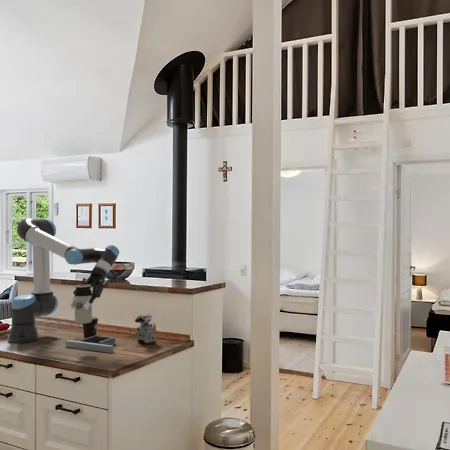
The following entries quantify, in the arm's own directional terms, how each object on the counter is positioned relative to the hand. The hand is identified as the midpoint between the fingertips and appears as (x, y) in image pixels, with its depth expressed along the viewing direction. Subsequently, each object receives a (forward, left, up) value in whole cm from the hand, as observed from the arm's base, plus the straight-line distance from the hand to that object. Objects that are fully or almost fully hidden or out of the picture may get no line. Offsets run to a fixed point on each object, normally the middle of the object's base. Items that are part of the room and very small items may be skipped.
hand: (78, 307), depth 240 cm
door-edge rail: (+1, +7, -21) cm, 22 cm away
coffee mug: (-18, +32, -22) cm, 43 cm away
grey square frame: (0, +14, -21) cm, 26 cm away
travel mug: (0, +3, -8) cm, 9 cm away
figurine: (+19, +28, -22) cm, 40 cm away
